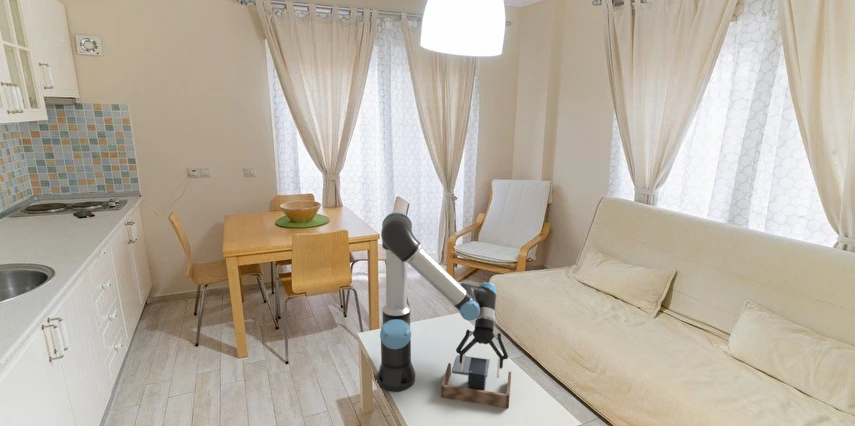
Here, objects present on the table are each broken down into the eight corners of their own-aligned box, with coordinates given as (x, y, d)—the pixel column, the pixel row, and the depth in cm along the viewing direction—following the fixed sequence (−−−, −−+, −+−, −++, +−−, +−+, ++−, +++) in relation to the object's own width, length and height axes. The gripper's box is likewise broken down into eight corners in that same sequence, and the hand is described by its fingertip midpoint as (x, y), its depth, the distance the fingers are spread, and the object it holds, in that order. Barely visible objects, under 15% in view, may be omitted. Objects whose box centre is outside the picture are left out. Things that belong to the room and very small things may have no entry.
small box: (484, 399, 161) (485, 374, 159) (466, 397, 162) (467, 372, 160) (486, 382, 171) (487, 358, 169) (469, 380, 172) (470, 356, 170)
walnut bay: (440, 397, 162) (441, 385, 161) (448, 373, 176) (448, 363, 175) (508, 408, 156) (509, 396, 155) (510, 382, 171) (511, 371, 169)
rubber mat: (452, 372, 177) (452, 371, 177) (457, 356, 189) (457, 355, 188) (486, 377, 174) (486, 375, 174) (489, 360, 185) (489, 359, 185)
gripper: (515, 326, 176) (512, 380, 166) (455, 319, 182) (448, 372, 171) (516, 320, 170) (513, 377, 160) (453, 314, 175) (446, 368, 165)
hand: (479, 374), depth 165 cm, fingers open, 13 cm apart
